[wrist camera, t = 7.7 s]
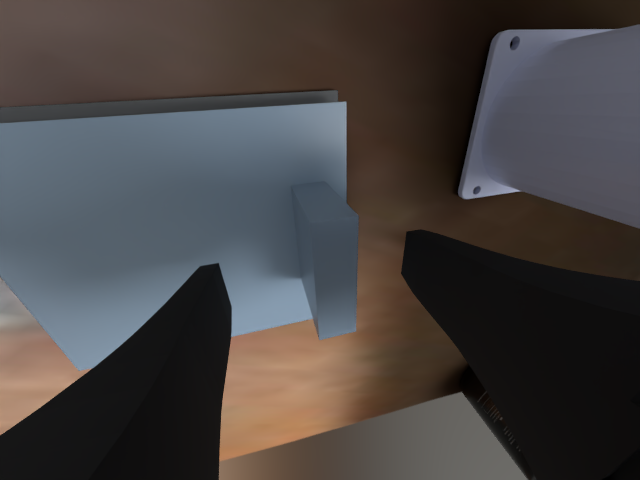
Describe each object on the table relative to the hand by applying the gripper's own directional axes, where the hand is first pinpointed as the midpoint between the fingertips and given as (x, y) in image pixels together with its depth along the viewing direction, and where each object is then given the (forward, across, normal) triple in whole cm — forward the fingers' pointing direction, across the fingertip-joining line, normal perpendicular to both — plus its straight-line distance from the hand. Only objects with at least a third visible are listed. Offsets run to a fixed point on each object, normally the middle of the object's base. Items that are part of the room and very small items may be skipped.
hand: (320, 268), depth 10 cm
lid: (+3, +5, 0) cm, 6 cm away
